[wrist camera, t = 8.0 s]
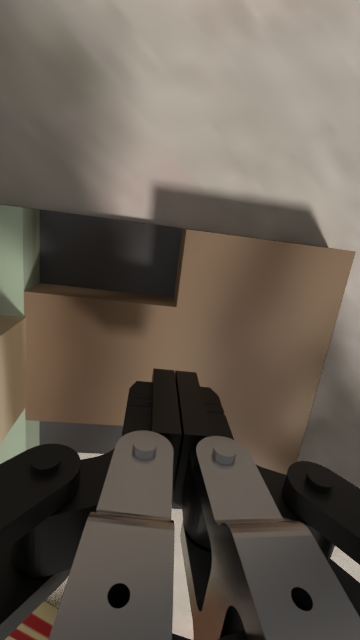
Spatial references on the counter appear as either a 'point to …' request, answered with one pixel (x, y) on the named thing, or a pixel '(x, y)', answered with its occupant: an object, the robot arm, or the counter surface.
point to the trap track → (165, 326)
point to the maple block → (12, 371)
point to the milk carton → (36, 624)
